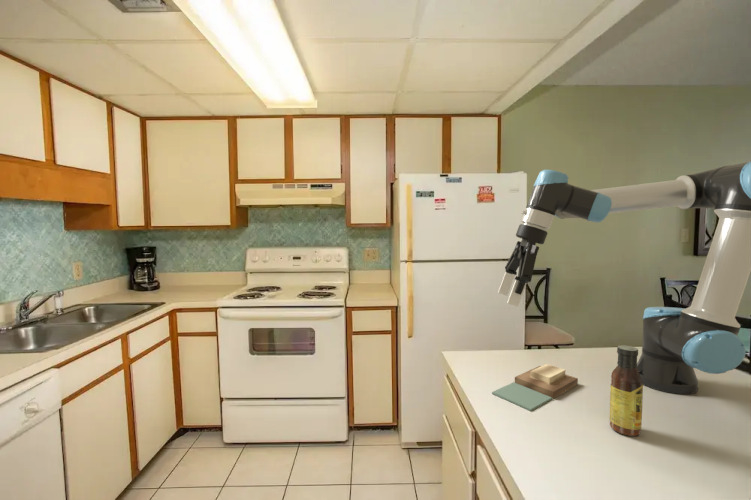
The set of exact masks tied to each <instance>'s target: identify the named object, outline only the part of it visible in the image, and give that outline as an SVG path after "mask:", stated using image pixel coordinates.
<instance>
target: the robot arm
mask: <svg viewBox="0 0 751 500" xmlns="http://www.w3.org/2000/svg"><path fill="white" fill-rule="evenodd" d="M532 187H533V188H532V190H531V193H530V195H529V198H528V201H527V203H526V204H527V205H526V206H525V209H524V210H522V212H521V214H522V217H521V223H520V224H519V225H518V228H517V230H516V233H515V236H516V238H519V239H521V241H519V240H518V241H517V242H516V243H515V244H516V245H515V247H514V249H513V251H512V253H511V255H510V257H509V259H508V261H507V262H506V265H505V266H504V270H505V273H504V275H503V277H502V280H501V284H500V286H499V287H498V291H497V293H498V294H501V295H503V296H508V295H509V296H508V300H507V301H506V304H509V305H512V306H514V307H519V304H520V302H521V300H522V297H523V294H524V291H525V289H526V286H527V285H528V283H531V281H532V279H533V274H534V269H535V264H536V259H537V256H538V253H539V251H540V250H539V249H540V247H539V246H537V245H536V244H539V245H544V244H545V242H546V240H547V239H546V238H547V237H548V231H549V230H550V229H551V226H552V223H553V221H554V219H555V218H558V219H561V220H562V219H582V220H586V221H587V222H593V223H597V224H598V223H601V222H603V221H604V220H605V219H606V218H607V216H609V214H617V213H626V212H635V211H643V210H644V211H645V210H655V209H664V208H673V207H677V208H679V209H682V210H687V209H688V210H689V209H713V213H714V214H715V215H717V217H718V218H719V219H718V222H717V226H716V228H715V231H714V235H713V238H712V241H711V242H710V243H711V244H710V245H709V250H708V252H707V255H706V259H705V261H704V265H703V268H702V271H701V275H700V277H699V280H698V283H697V285H696V286H697V287H696V290H695V293H694V296H693V298H692V302H691V304H690V306H688V307H686V308H684V307H683V308H682V307H672V306H671V307H669V306H649V307H646V308H645V309H644V312H643V317H642V321H643V322H642V344H641V355H640V357H639V359H638V360H637V368H638V371H639V374H640V377H641V379H642V382H643V386H646V387H648V388H650V389H651V388H652V389H654V390H658V391H662V392H665V393H671V394H677V395H678V394H680V395H690V394H691V395H692V394H694V393H697V392H698V389H699V381H698V378H697V377H698V376H697V375H696V372H695V370H694V369H697V370H699V371H700V372H703V373H707V374H712V375H714V374H715V375H718V374H725V373H727V372H729V371H733V370H734V369H736V368H738V367H739V366H740V365H741V364H742V362H743V361H744V359H745V358H746V353H747V351H746V350H747V349H746V345H745V344H744V342H743V340H742V339H741V338H740V336H739V333H740V330H741V324H740V323H739V322H738V320H737V319H736V315H737V313H738V310H739V306H740V304H741V300H742V298H743V295H744V292H745V289H746V287H747V286H746V285H747V283H748V280H749V277H750V274H751V161H746V162H741V163H737V164H736V163H735V164H731V165H730V164H729V165H725V166H723V165H722V166H720V167H716V168H712V169H708V170H705V171H700V172H697V173H692V174H684V175H680V176H678V177H677V178H676V179H674V180H672V179H671V180H665V181H658V182H647V183H641V184H640V183H639V184H630V185H624V186H616V187H608V188H607V187H606V188H605V187H604V188H599V189H598V188H597V189H592V190H591V189H586V188H584V187H579V186H575V185H573V184H570V183H569V176H568V174H566V173H563V172H561V171H558V170H555V169H554V170H553V169H542V170H541V171H539V173H538V176H537V178H536V179H535V182H534V184H533V186H532ZM517 271H518V273H517ZM514 280H515V281H514ZM513 281H514V282H513ZM512 284H513V286H512ZM511 286H512V288H511ZM510 289H511V291H510ZM509 291H510V292H509Z"/></svg>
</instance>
